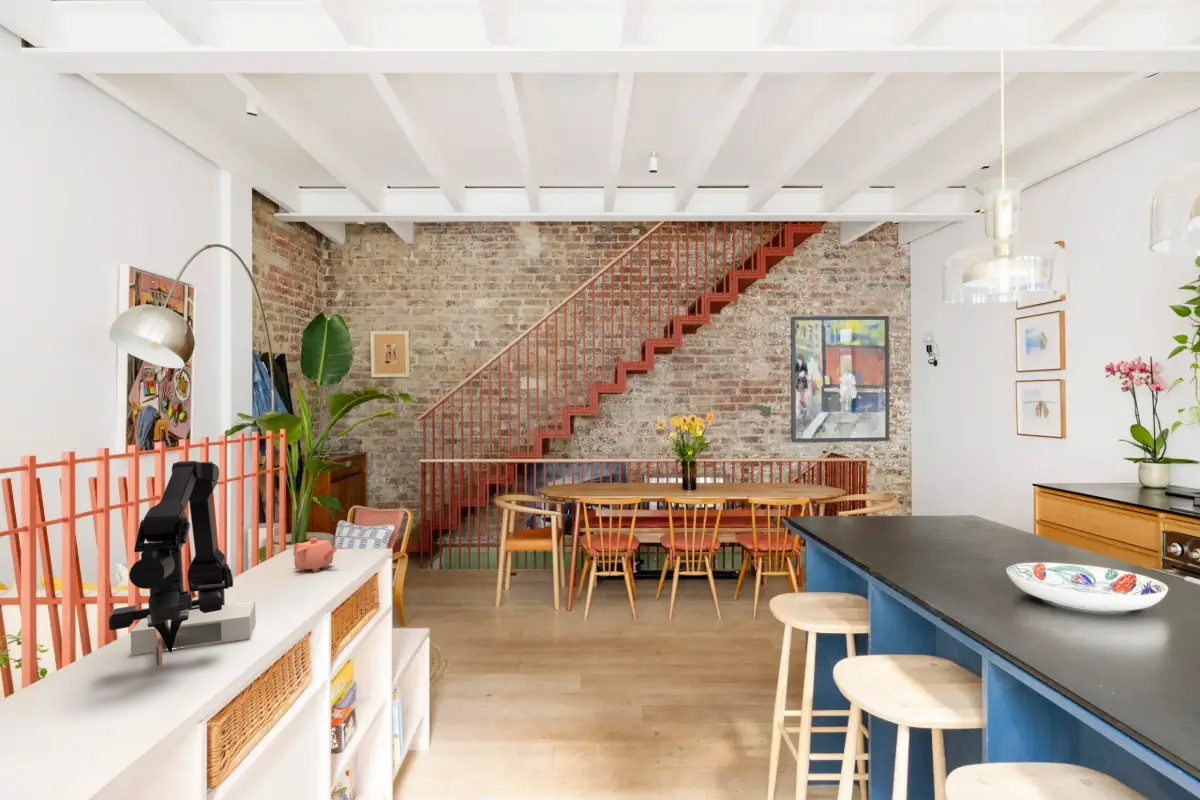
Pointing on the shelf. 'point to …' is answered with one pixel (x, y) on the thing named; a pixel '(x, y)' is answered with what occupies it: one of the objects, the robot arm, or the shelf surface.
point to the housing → (200, 628)
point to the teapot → (313, 554)
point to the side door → (159, 650)
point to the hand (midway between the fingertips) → (170, 651)
